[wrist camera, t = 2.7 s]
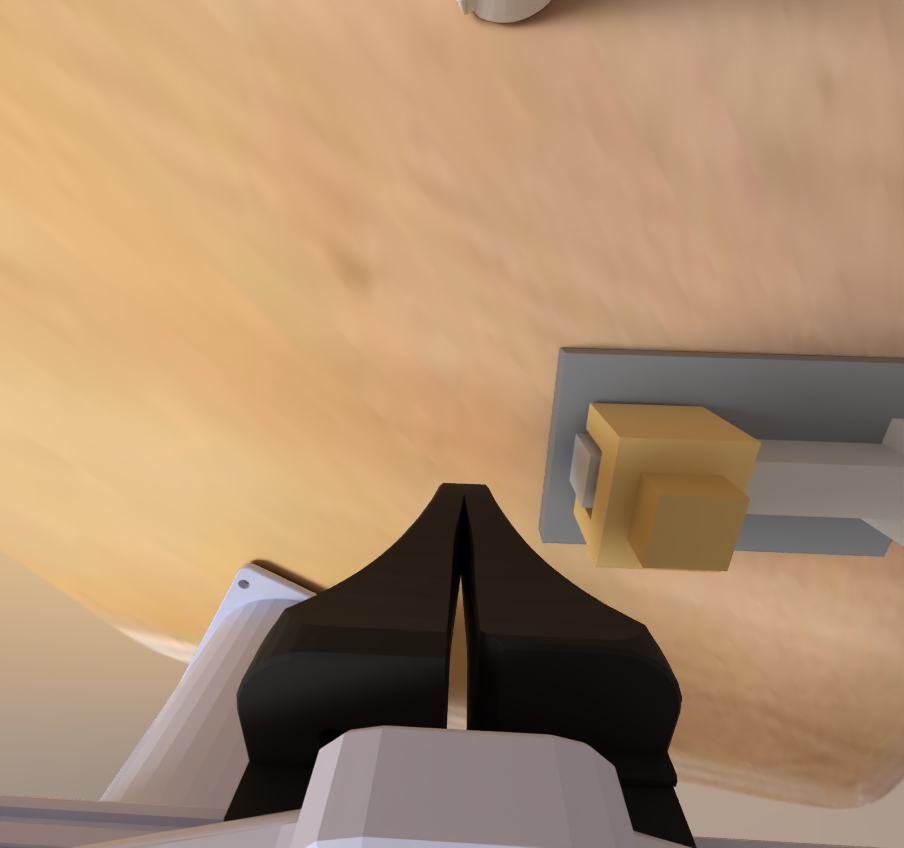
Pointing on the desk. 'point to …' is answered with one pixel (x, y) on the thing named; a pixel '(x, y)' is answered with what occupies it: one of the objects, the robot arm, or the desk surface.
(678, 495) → the slider
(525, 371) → the desk surface
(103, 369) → the desk surface
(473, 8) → the photo printer
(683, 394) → the rail board
